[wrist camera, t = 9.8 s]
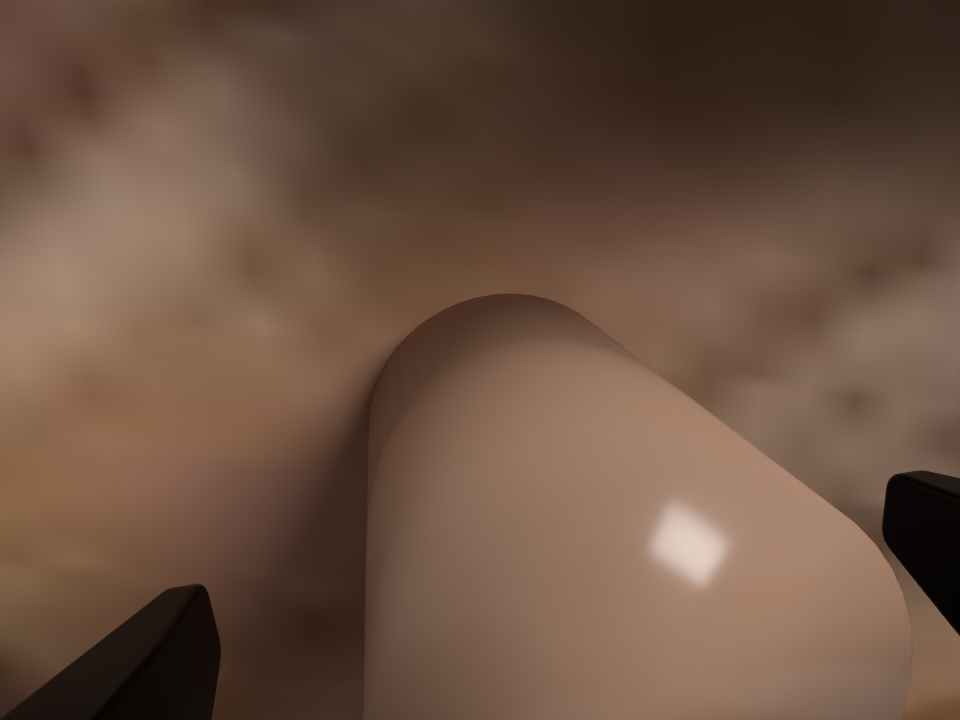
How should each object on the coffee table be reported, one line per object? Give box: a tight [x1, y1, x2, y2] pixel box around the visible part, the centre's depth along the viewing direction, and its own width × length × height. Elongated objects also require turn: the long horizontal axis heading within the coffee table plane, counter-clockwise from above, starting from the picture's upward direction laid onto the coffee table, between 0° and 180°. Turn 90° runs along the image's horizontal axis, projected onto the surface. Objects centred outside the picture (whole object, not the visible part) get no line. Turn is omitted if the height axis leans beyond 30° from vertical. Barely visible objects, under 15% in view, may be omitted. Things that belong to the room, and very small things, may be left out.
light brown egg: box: [363, 294, 912, 720], centre depth 9 cm, size 5×5×7 cm
